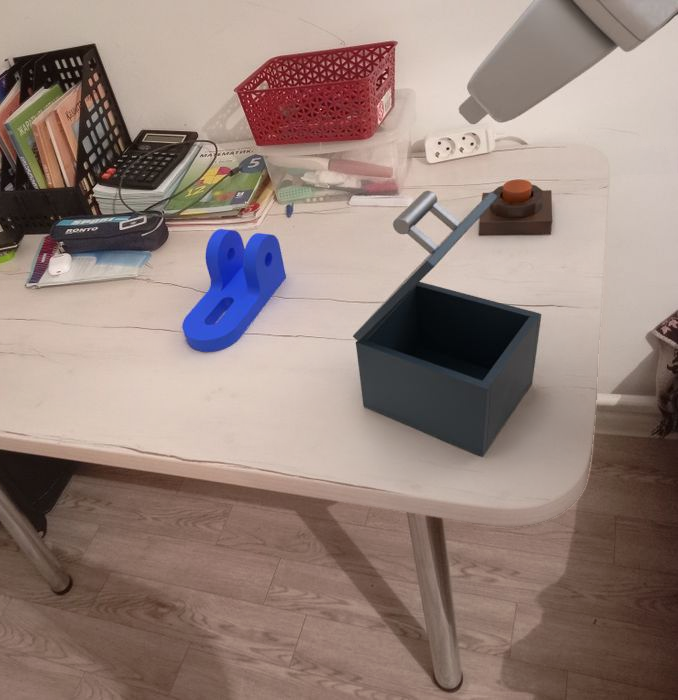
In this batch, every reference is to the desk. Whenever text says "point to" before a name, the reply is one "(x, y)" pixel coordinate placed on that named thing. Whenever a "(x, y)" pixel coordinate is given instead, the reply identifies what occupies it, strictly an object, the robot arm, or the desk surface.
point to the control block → (518, 215)
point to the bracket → (234, 288)
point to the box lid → (425, 245)
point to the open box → (449, 364)
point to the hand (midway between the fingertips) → (499, 81)
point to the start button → (517, 191)
